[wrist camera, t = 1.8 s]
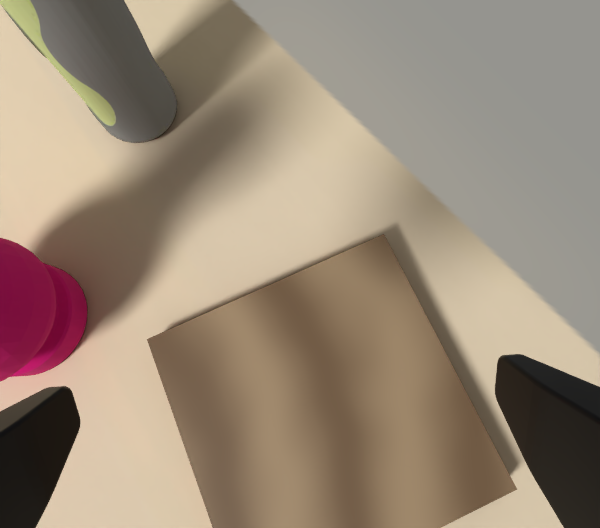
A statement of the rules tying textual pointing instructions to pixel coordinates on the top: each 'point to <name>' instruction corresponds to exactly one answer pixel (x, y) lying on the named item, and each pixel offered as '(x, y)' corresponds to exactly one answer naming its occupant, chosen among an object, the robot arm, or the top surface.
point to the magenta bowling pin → (36, 313)
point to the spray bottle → (101, 62)
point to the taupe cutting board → (327, 405)
